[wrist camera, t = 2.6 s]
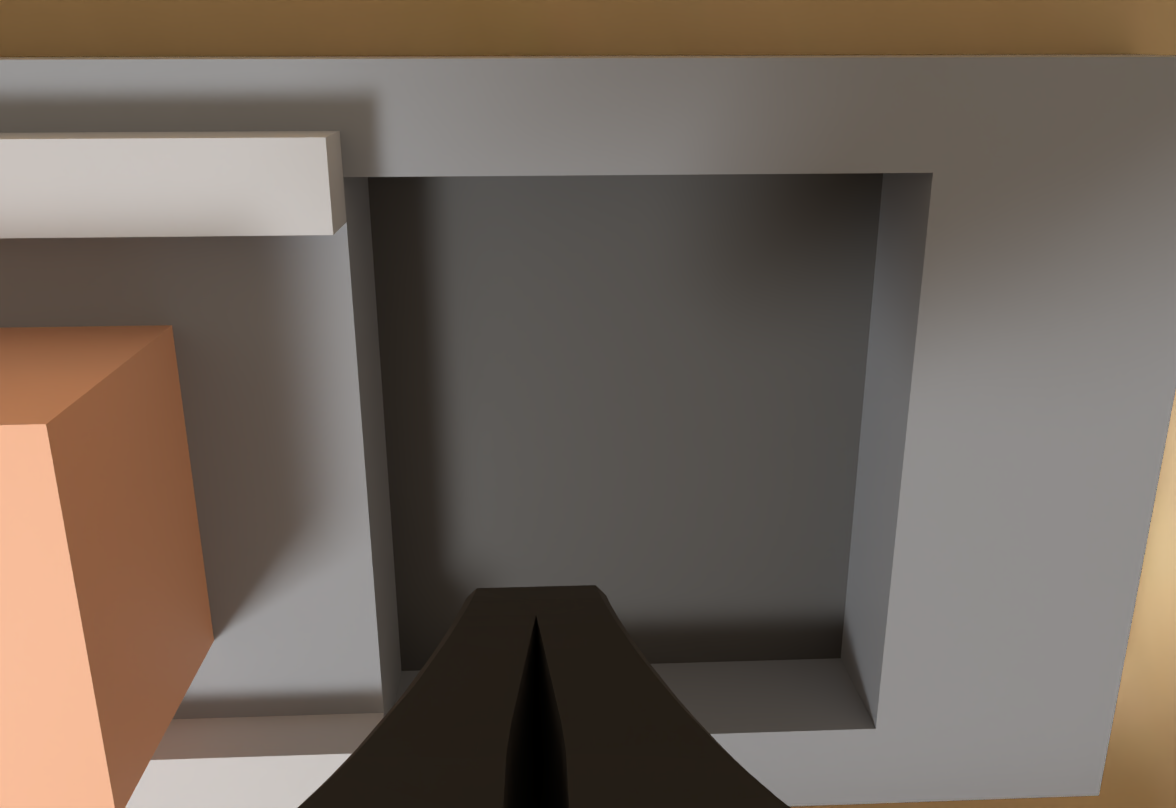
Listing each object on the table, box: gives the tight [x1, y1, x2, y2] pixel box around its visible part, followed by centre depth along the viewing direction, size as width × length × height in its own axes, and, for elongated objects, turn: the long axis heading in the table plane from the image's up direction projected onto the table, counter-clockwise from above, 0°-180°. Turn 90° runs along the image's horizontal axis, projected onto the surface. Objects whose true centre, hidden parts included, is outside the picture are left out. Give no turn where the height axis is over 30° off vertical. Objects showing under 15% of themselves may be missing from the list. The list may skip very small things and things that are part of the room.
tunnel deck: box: [0, 55, 1176, 808], centre depth 16 cm, size 12×30×4 cm, turn 90°
